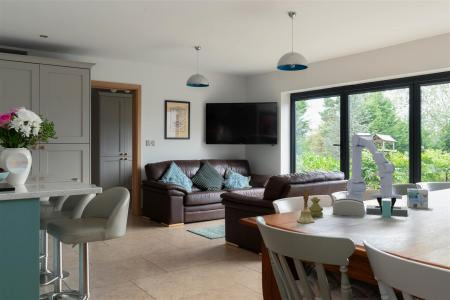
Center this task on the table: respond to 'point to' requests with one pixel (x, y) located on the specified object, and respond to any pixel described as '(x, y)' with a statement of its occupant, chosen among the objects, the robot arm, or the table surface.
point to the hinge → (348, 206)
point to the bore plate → (396, 211)
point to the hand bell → (305, 210)
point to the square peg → (386, 208)
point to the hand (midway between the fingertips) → (386, 212)
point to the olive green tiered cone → (315, 208)
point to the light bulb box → (417, 198)
